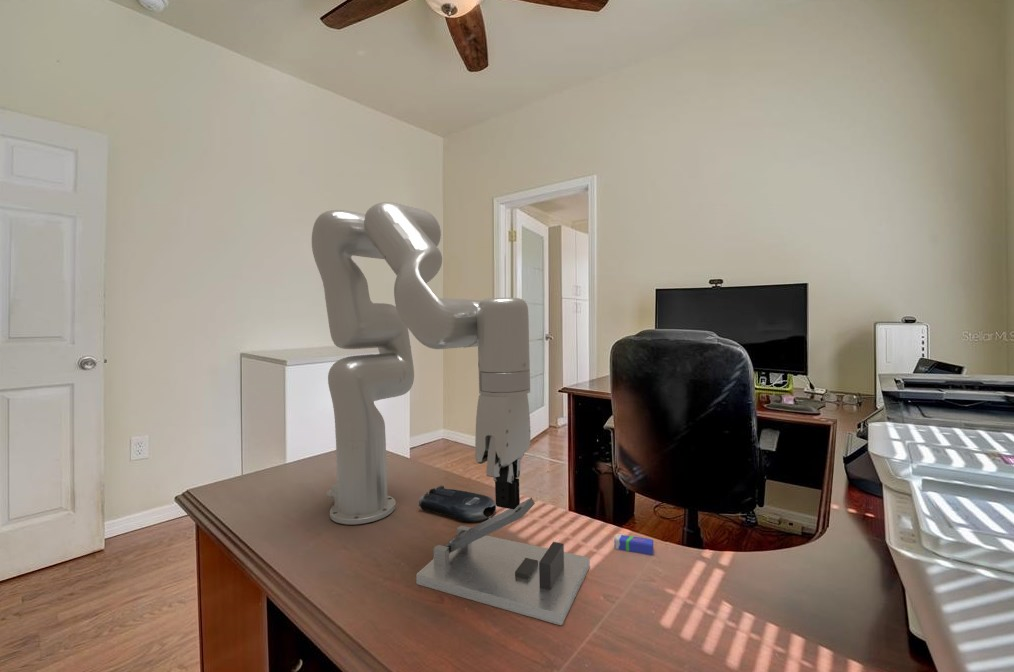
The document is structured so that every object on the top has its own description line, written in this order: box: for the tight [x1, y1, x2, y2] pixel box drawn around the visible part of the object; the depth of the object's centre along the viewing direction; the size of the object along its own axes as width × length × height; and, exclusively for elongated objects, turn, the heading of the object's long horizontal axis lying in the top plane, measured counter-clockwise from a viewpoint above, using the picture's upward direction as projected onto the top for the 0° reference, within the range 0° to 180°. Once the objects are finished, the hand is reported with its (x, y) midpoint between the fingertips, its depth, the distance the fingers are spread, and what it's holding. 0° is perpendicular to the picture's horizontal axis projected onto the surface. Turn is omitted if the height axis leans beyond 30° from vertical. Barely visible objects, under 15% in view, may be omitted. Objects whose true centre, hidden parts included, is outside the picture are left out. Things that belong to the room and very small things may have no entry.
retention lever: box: [443, 497, 536, 554], centre depth 66 cm, size 16×5×1 cm
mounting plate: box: [415, 525, 591, 626], centre depth 65 cm, size 22×14×5 cm, turn 65°
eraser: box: [613, 533, 654, 556], centre depth 72 cm, size 2×6×2 cm, turn 67°
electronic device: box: [418, 484, 497, 523], centre depth 88 cm, size 9×6×15 cm
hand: (507, 505), depth 64 cm, fingers closed
